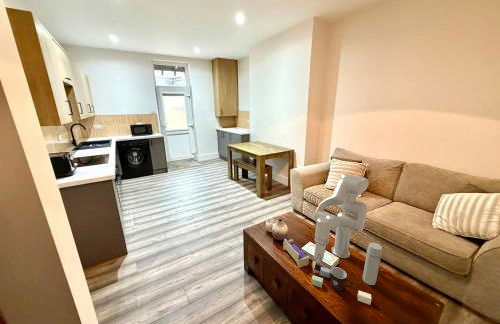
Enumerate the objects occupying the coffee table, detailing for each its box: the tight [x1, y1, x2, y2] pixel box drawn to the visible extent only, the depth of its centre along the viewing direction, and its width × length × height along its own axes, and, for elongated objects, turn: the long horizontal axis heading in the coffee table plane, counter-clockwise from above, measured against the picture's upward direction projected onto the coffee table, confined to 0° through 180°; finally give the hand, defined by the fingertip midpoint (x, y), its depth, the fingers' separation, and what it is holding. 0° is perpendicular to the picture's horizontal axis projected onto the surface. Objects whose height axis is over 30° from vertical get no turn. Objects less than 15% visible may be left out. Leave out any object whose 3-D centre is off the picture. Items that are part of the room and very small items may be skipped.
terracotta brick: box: [311, 260, 320, 274], centre depth 133 cm, size 6×3×4 cm, turn 170°
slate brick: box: [318, 266, 331, 279], centre depth 128 cm, size 6×3×4 cm, turn 65°
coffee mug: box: [330, 266, 353, 292], centre depth 118 cm, size 12×9×10 cm
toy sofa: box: [282, 238, 311, 269], centre depth 144 cm, size 21×9×10 cm, turn 22°
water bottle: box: [362, 242, 383, 286], centre depth 122 cm, size 9×8×25 cm
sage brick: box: [311, 274, 324, 289], centre depth 122 cm, size 6×3×4 cm, turn 65°
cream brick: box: [357, 290, 372, 306], centre depth 111 cm, size 6×3×4 cm, turn 65°
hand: (318, 264), depth 118 cm, fingers open, 9 cm apart
